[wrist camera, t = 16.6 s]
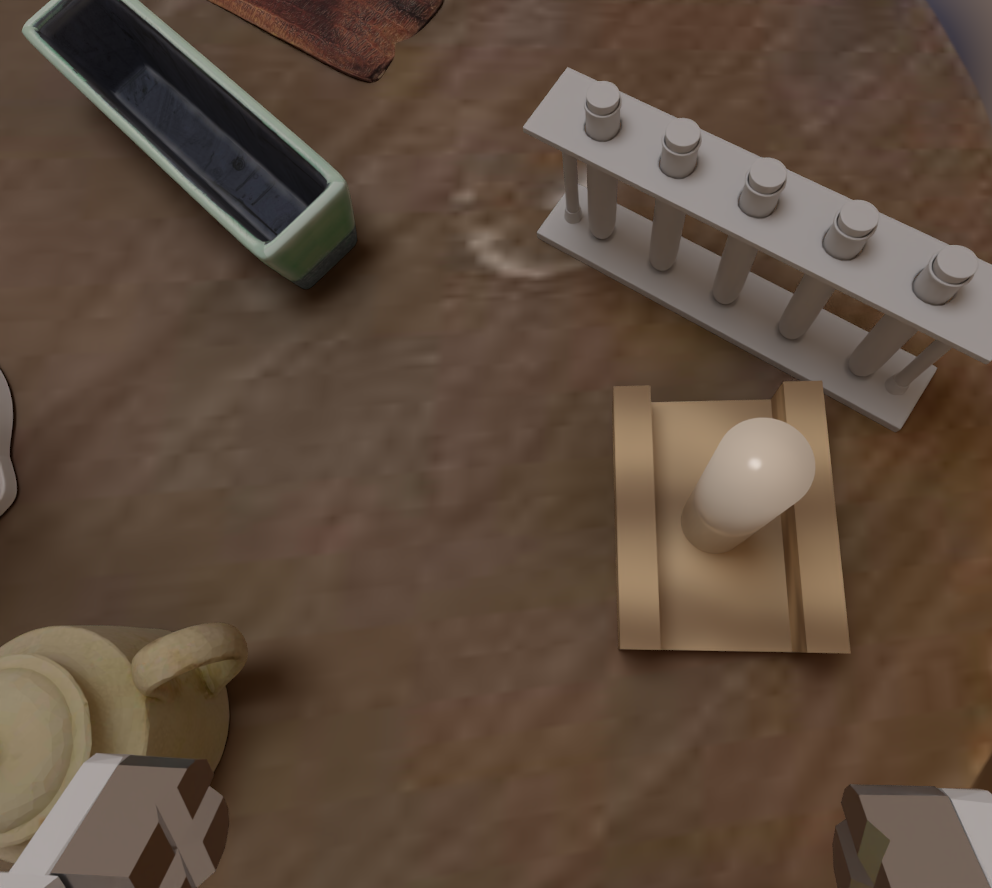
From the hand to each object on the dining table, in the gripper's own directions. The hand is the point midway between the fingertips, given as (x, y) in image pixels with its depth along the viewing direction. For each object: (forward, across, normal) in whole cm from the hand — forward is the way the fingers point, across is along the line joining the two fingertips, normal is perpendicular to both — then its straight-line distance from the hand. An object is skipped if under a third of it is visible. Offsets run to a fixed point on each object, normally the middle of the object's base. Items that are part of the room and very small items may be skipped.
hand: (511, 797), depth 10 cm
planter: (+49, -25, +1) cm, 55 cm away
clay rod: (+29, +8, -16) cm, 34 cm away
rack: (+30, +8, -17) cm, 35 cm away
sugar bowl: (+23, -25, -25) cm, 42 cm away
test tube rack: (+40, +9, -8) cm, 42 cm away
